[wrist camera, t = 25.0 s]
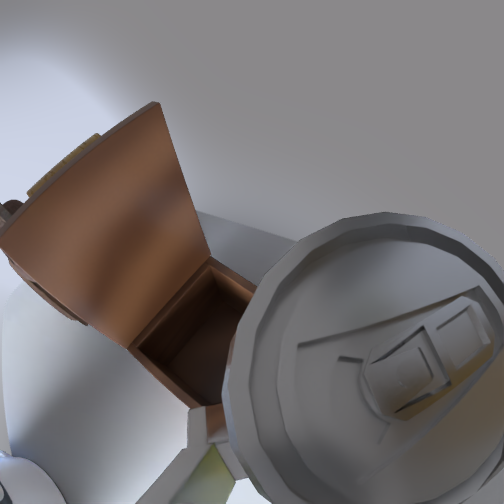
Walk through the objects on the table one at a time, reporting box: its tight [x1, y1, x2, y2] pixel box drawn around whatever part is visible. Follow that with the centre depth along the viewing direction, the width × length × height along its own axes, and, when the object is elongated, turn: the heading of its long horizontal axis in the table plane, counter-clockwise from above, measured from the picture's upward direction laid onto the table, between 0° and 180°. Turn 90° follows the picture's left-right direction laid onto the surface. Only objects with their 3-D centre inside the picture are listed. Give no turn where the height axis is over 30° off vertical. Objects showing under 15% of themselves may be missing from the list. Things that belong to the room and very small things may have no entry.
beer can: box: [221, 212, 504, 504], centre depth 8 cm, size 5×5×12 cm
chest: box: [126, 256, 258, 409], centre depth 26 cm, size 15×12×9 cm
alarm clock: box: [0, 200, 88, 326], centre depth 28 cm, size 15×7×20 cm, turn 62°
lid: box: [0, 102, 211, 349], centre depth 20 cm, size 15×12×5 cm
